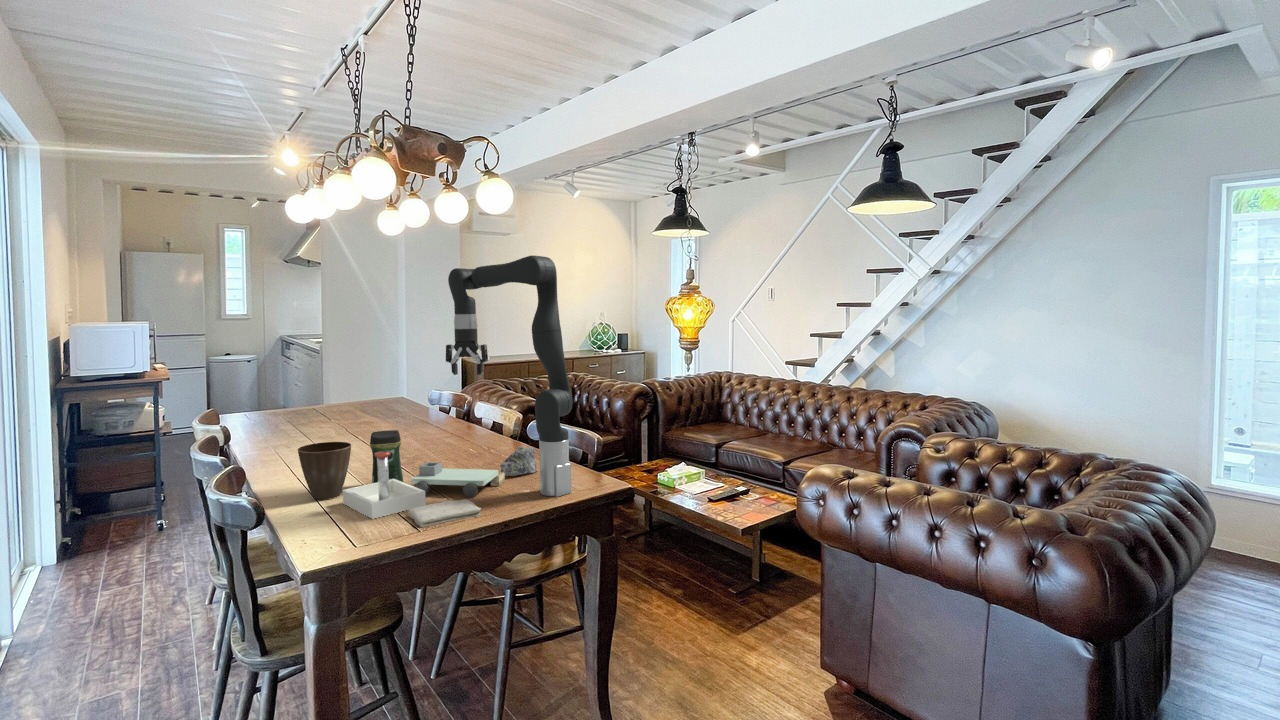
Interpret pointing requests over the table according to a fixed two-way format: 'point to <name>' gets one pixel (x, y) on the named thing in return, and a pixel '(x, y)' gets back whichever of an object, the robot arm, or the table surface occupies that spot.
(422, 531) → the table surface
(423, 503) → the tray
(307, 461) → the plant pot
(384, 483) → the pin
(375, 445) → the coffee jar
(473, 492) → the trolley
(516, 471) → the mineral rock
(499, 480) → the block
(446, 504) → the washcloth
